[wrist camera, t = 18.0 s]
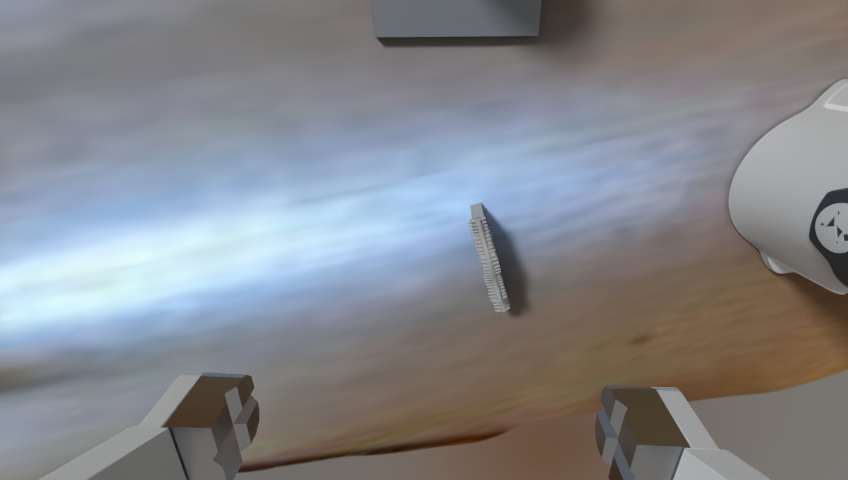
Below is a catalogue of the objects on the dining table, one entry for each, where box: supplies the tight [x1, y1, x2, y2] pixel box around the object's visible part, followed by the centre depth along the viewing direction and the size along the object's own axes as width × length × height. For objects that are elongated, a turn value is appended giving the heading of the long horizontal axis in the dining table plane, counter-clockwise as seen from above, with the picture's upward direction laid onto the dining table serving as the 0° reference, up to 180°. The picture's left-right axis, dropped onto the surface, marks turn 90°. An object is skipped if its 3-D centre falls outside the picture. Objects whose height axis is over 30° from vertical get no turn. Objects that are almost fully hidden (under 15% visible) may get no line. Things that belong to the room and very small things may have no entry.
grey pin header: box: [468, 203, 510, 312], centre depth 44 cm, size 12×2×6 cm, turn 17°
